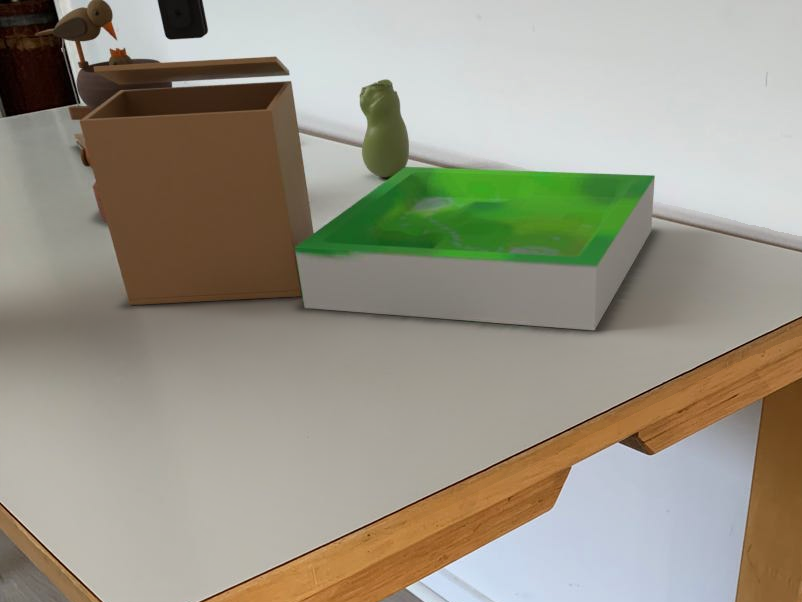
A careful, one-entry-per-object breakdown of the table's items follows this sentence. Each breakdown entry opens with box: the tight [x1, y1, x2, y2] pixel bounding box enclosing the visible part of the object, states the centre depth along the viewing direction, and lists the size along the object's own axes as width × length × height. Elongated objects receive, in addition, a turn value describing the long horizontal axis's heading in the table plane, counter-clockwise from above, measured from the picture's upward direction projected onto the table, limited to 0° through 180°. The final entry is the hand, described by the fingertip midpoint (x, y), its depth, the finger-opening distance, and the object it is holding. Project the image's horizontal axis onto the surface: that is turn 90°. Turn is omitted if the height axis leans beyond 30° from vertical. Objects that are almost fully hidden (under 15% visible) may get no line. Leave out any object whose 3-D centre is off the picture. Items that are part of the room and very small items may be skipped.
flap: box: [94, 56, 290, 85], centre depth 82 cm, size 15×6×1 cm, turn 91°
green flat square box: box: [295, 166, 656, 331], centre depth 87 cm, size 25×25×5 cm
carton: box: [79, 80, 315, 306], centre depth 85 cm, size 15×12×14 cm
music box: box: [35, 0, 173, 223], centre depth 102 cm, size 15×11×20 cm
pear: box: [359, 78, 410, 178], centre depth 111 cm, size 6×5×10 cm
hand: (187, 36), depth 80 cm, fingers closed
